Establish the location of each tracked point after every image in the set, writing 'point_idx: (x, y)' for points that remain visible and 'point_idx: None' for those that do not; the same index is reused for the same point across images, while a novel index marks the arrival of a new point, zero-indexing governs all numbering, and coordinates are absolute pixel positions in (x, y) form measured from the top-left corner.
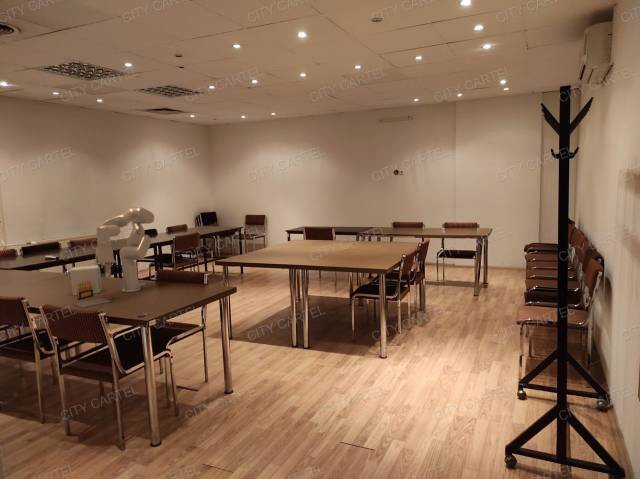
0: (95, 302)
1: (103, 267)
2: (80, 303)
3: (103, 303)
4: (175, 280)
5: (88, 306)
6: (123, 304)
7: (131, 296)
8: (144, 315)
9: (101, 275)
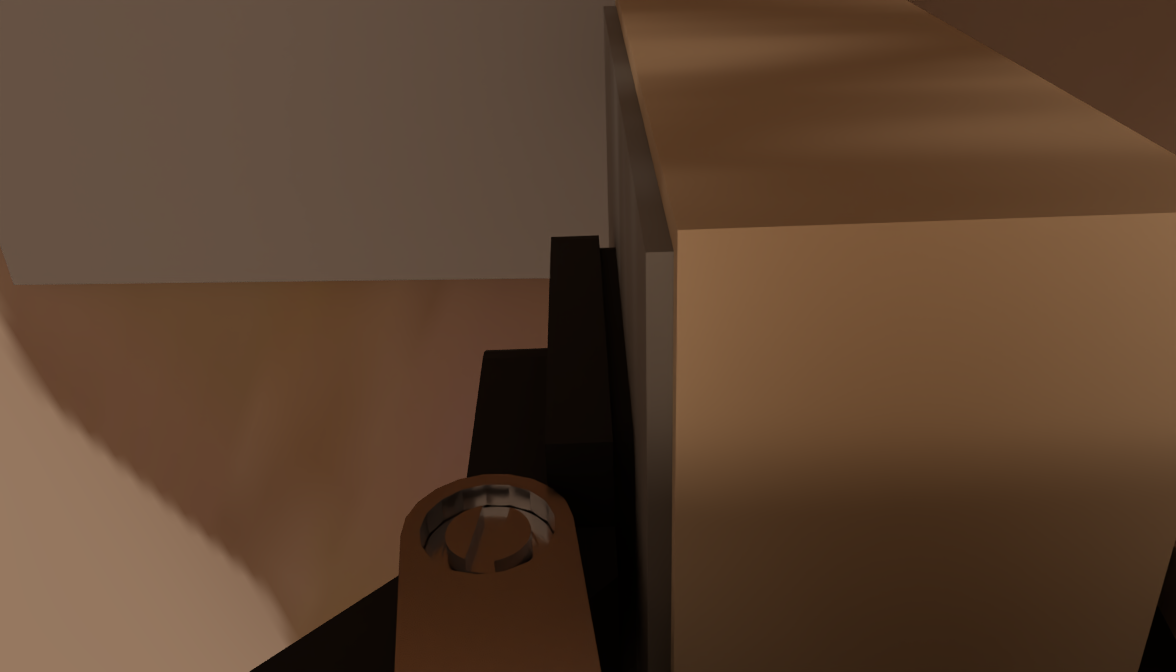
0: (324, 94)
1: (641, 655)
2: None
3: (437, 273)
4: None
5: (129, 280)
6: None
7: (1159, 135)
8: None
9: (605, 53)
